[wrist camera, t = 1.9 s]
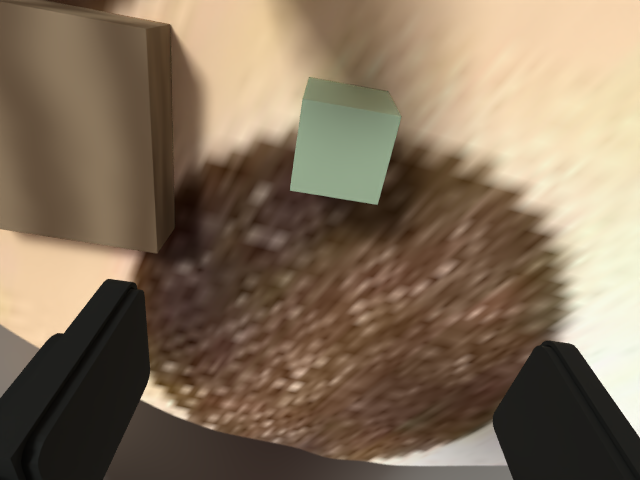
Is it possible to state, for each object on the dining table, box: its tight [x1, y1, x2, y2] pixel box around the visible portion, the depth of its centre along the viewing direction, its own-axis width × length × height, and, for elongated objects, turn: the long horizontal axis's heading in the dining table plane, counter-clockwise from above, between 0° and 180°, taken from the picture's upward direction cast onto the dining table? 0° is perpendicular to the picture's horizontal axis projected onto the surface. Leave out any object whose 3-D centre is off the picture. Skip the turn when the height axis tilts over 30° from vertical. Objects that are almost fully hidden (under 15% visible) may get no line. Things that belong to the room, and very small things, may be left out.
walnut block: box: [0, 0, 175, 253], centre depth 26 cm, size 14×14×4 cm
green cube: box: [290, 77, 401, 205], centre depth 24 cm, size 5×5×6 cm
